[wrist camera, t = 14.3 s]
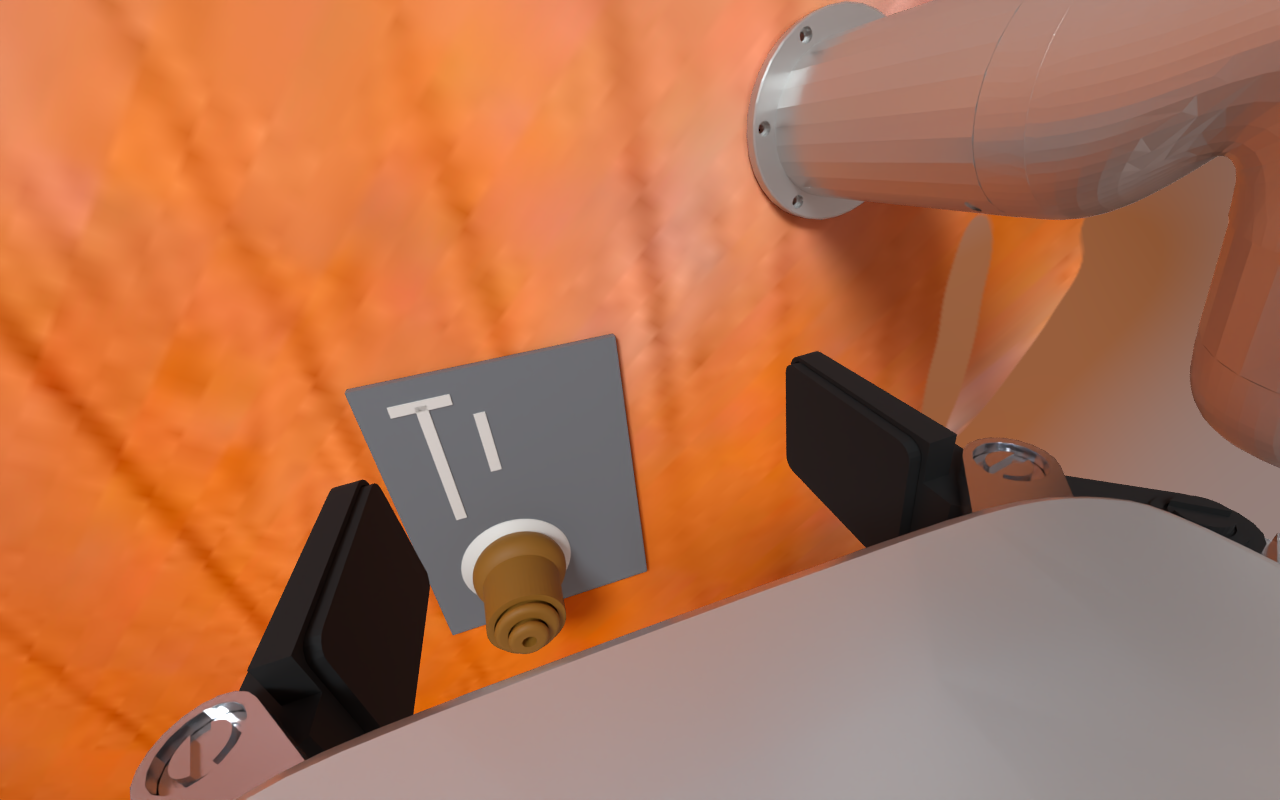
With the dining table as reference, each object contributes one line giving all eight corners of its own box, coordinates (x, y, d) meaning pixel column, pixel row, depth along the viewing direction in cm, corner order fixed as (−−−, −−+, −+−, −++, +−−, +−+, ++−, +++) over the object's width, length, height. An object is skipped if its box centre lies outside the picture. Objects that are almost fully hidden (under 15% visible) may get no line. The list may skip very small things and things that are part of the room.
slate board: (613, 333, 35) (615, 336, 35) (645, 566, 47) (647, 571, 46) (346, 389, 31) (344, 394, 31) (453, 629, 43) (452, 636, 42)
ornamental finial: (533, 510, 39) (578, 562, 43) (452, 560, 38) (506, 607, 42) (547, 584, 32) (600, 638, 36) (449, 646, 32) (513, 693, 36)
